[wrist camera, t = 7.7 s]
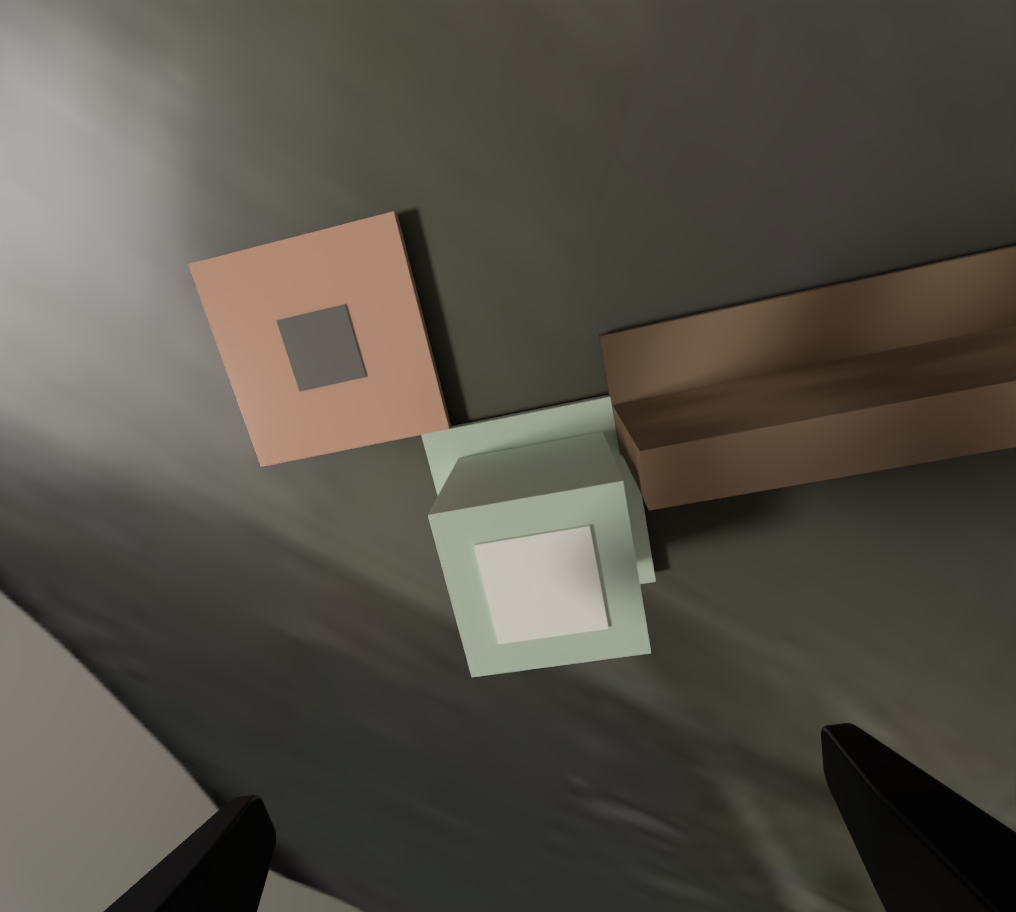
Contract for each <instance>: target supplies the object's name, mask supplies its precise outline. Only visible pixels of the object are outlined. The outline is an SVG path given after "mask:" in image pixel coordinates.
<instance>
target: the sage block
mask: <svg viewBox="0 0 1016 912" xmlns="http://www.w3.org/2000/svg"><path fill="white" fill-rule="evenodd" d="M428 518H429V521H430V525H431V529H432V533H433V536H434V540H435V544H436V547H437V551H438V555H439V558H440V562H441V566H442V569H443V573H444V577H445V581H446V584H447V588H448V592H449V595H450V599H451V603H452V606H453V610H454V614H455V617H456V621H457V625H458V628H459V632H460V636H461V640H462V643H463V647H464V651H465V654H466V658H467V662H468V665H469V669H470V673H471V676H472V677H478V676H485V675H493V674H500V673H507V672H515V671H522V670H530V669H537V668H545V667H552V666H559V665H567V664H574V663H582V662H589V661H597V660H604V659H612V658H619V657H626V656H634V655H641V654H649V653H651V649H650V643H649V637H648V631H647V625H646V618H645V612H644V606H643V600H642V594H641V588H640V581H639V575H638V569H637V563H636V557H635V551H634V544H633V538H632V532H631V526H630V520H629V514H628V508H627V501H626V495H625V489H624V483H623V479H622V477H621V474H620V472H619V470H618V467H617V465H616V462H615V460H614V458H613V455H612V453H611V450H610V448H609V445H608V443H607V441H606V438H605V436H604V433H603V432H598V433H592V434H587V435H582V436H576V437H571V438H565V439H560V440H555V441H549V442H544V443H539V444H533V445H528V446H523V447H517V448H512V449H507V450H501V451H496V452H490V453H485V454H480V455H474V456H469V457H464V458H458V460H457V462H456V463H455V465H454V467H453V469H452V471H451V473H450V475H449V476H448V478H447V480H446V482H445V484H444V486H443V488H442V489H441V491H440V493H439V495H438V497H437V499H436V501H435V502H434V504H433V506H432V508H431V510H430V512H429V514H428Z"/></svg>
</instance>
